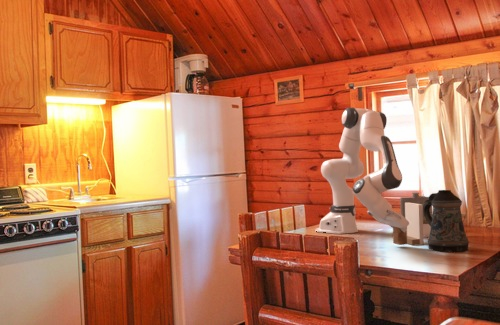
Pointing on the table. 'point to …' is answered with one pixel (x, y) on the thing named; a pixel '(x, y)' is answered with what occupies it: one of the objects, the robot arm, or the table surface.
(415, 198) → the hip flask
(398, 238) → the cabinet block
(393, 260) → the table surface
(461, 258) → the table surface
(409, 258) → the table surface
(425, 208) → the beer stein
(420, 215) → the wall board
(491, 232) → the table surface
